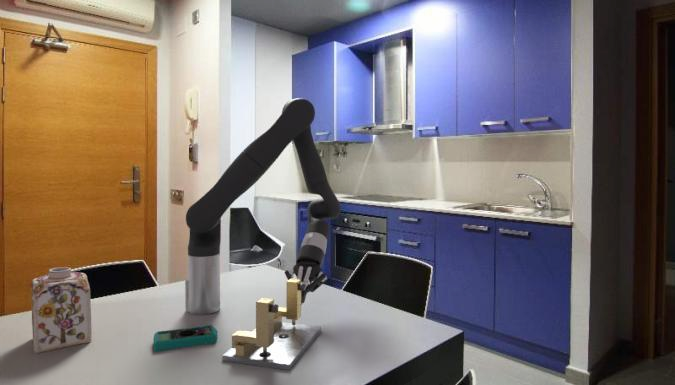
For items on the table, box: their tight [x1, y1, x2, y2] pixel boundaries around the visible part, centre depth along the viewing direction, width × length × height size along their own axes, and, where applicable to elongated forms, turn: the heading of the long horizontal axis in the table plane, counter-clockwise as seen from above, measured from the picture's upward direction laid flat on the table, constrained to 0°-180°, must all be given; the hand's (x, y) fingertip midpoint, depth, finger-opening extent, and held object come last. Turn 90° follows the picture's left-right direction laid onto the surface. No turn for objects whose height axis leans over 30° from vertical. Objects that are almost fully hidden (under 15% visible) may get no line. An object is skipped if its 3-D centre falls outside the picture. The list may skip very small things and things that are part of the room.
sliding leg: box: [274, 278, 305, 325], centre depth 113 cm, size 10×3×12 cm, turn 75°
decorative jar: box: [30, 266, 93, 354], centre depth 105 cm, size 12×12×18 cm
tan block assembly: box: [231, 297, 283, 357], centre depth 104 cm, size 10×22×12 cm, turn 165°
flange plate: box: [221, 321, 322, 371], centre depth 104 cm, size 16×23×1 cm
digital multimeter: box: [153, 324, 218, 352], centre depth 105 cm, size 7×15×3 cm, turn 112°
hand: (298, 303), depth 116 cm, fingers closed
